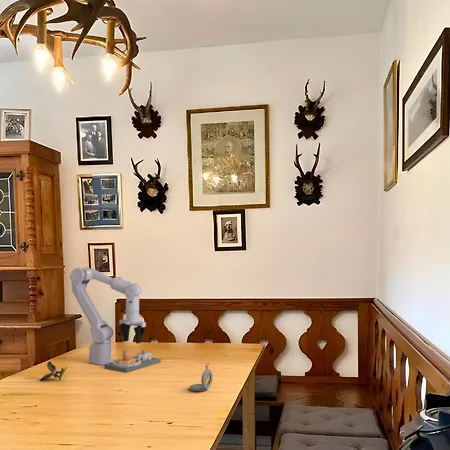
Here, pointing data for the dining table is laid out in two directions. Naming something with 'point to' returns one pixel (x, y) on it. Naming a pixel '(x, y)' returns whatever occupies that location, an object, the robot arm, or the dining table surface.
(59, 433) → the dining table surface
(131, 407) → the dining table surface
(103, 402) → the dining table surface
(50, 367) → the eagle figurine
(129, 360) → the planet gear
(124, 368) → the carrier plate
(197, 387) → the pocket watch
